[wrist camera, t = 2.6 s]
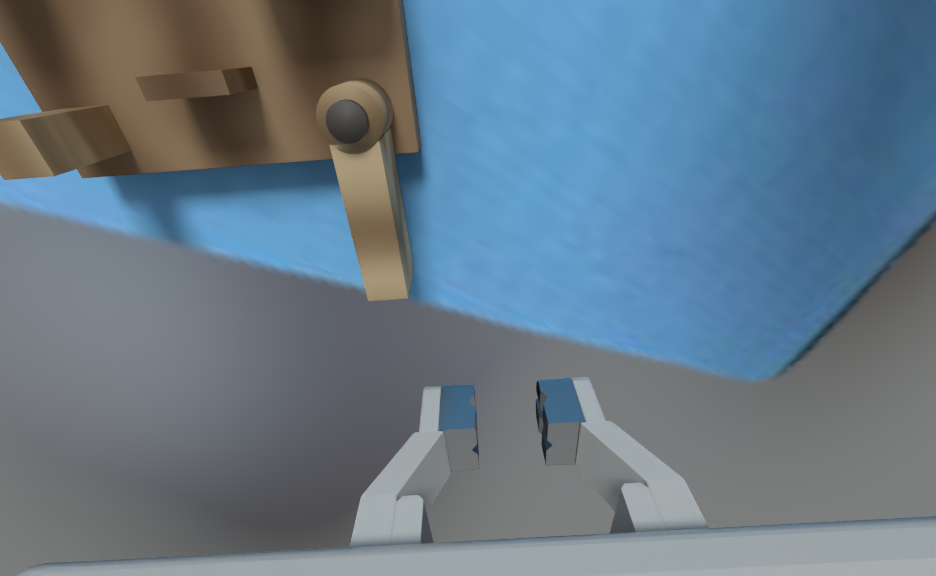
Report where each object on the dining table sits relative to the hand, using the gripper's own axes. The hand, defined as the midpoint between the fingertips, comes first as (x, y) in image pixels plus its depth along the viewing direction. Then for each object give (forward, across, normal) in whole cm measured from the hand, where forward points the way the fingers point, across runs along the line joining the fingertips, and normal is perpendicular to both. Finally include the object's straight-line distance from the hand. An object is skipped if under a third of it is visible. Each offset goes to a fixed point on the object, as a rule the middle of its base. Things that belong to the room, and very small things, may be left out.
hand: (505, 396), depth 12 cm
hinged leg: (+15, +6, -2) cm, 16 cm away
